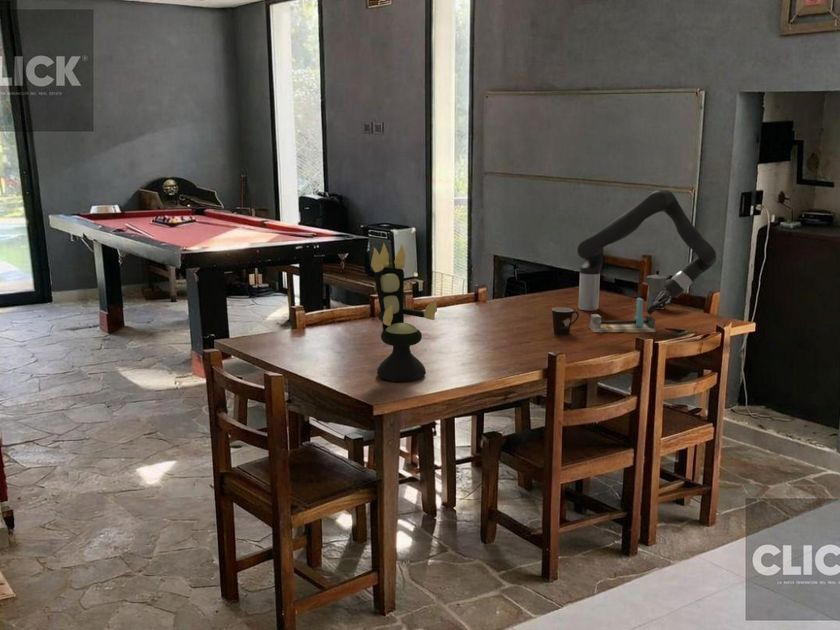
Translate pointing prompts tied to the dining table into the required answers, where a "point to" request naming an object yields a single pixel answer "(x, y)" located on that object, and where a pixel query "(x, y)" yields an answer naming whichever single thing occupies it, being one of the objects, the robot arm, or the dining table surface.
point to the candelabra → (397, 319)
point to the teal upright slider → (639, 313)
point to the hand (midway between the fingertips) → (648, 312)
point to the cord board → (597, 326)
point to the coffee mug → (562, 320)
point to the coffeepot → (655, 286)
